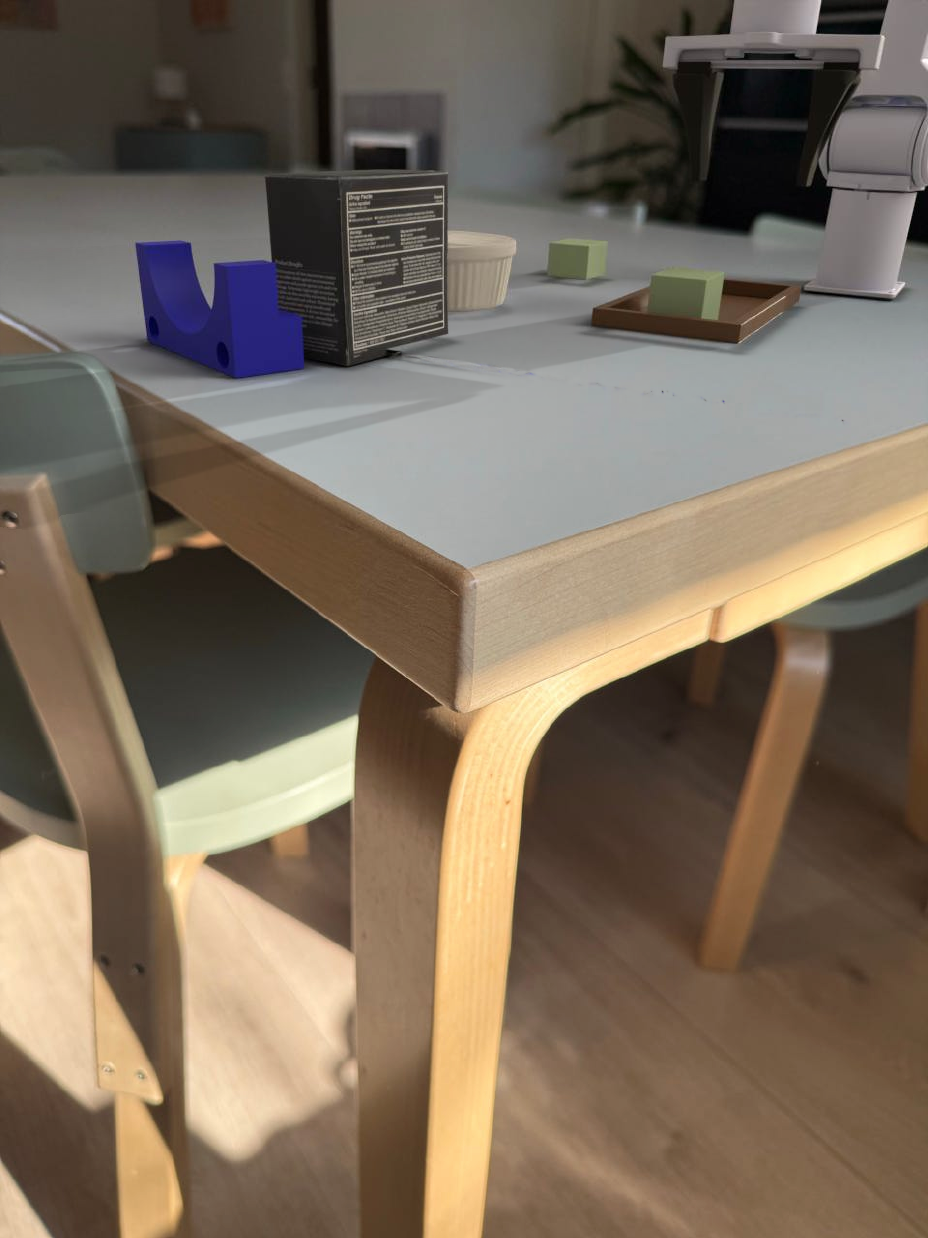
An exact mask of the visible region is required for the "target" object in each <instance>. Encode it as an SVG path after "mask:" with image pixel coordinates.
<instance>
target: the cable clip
mask: <svg viewBox="0 0 928 1238" xmlns="http://www.w3.org/2000/svg"><path fill="white" fill-rule="evenodd" d="M134 245H135V253H136V261H137V267H138V275H139V284H140V285H139V286H140V293H141V301H142V310H143V317H144V325H145V333H146V341H147V342H149V343H151V344H152V345H153V344H154V345H156V346H157V347H161V348H163V349H165V350H168V351H169V352H173V353H175V354H177V355H179V356H182V357H183V358H186V359H189V360H191V361H193V362H196V363H198V364H201V365H203V366H206V367H208V368H211V369H213V370H216V371H217V372H220V373H222V374H224V375H227V376H229V377H233V378H235V379H241V378H247V377H254V376H260V375H261V376H262V375H267V374H274V373H275V374H276V373H280V372H289V371H295V370H303V369H305V357H304V353H303V332H302V316H299V315H296V314H293V313H289V312H286V311H283V310H279V309H278V293H277V276H276V263H273V262H272V261H269V260H265V259H258V260H257V259H255V260H241V261H225V262H214V263H213V272H214V273H213V274H214V278H213V279H214V280H213V281H214V283H213V285H214V286H213V298H212V304H211V306H210V305H209V303H208V301H207V299H206V296H205V294H204V292H203V289H202V287H201V284H200V281H199V278H198V273H197V270H196V265H195V261H194V255H193V248H192V243H191V242H189V241H185V240H161V241H160V240H159V241H144V242H143V241H139V242H135V243H134Z"/></svg>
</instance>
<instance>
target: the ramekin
mask: <svg viewBox="0 0 928 1238" xmlns="http://www.w3.org/2000/svg"><path fill="white" fill-rule="evenodd" d="M516 253H517V241H516V239H515V238H514V237H510V236H507V235H501V234H493V233H484V232H475V231H467V230H448V254H447V263H448V266H447V269H448V273H447V274H448V277H447V284H448V286H447V287H448V289H447V301H448V307H447V309H448V312H469V311H470V312H472V311H482V310H488V309H489V310H490V309H494V308H497V307H499V306H501V305H503V303H504V300H505V298H506V294H507V289H508V284H509V283H508V282H509V279H510V274H511V269H512V262H513V257H514V255H515V254H516Z"/></svg>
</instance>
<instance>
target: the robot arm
mask: <svg viewBox="0 0 928 1238" xmlns="http://www.w3.org/2000/svg"><path fill="white" fill-rule="evenodd" d="M821 5H822V0H734V1H733V8H732V16H731V23H730V30H729V34H709V35H705V34H704V35H684V36H683V35H680V36H678V35H677V36H665V43H664V52H663V60H662V68H664V69H670V70H676V71H675V72H674V73H672V76H671V79H672V86H673V88H674V89H673V90H674V92H675V94H676V97H677V100H678V104H679V107H680V111H681V114H682V118H683V119H682V120H683V123H684V129H685V132H686V138H687V146H688V154H689V173H690V174H689V175H690V176H689V177H690V178H689V180H690V181H691V182H703V181H707V178H708V173H709V169H710V159H711V148H712V147H711V146H712V137H713V136H712V135H713V127H714V123H715V117H716V112H717V106H718V103H719V98H720V94H721V89H722V84H723V81H724V74H725V73H724V72H719V71H715V70H716V69H740V70H741V69H742V70H743V69H744V70H745V69H750V70H752V69H754V70H755V69H757V70H760V69H762V70H765V69H767V70H814V71H813V76H812V84H811V85H812V86H811V97H810V104H809V106H810V107H809V112H808V120H807V127H806V133H805V138H804V143H803V147H802V151H801V156H800V160H799V165H798V169H797V173H796V174H797V175H796V182H795V187H802V188H803V187H805V188H808V187H810V186H812V183H813V179H814V175H815V172H816V169H817V167H818V165H819V169H820V171H821V173H822V176H823V178H824V179H825V180H826V187H833V188H832V191H831V198H830V202H829V207H828V213H827V218H826V223H825V228H824V234H823V239H822V245H821V249H820V255H819V260H818V264H817V270H816V276H815V278H814V279H813V280H810V281H809V282H808V283H806V284H804V286H803V290H804V291H808V292H815V293H827V294H829V293H830V294H837V295H838V294H839V295H847V296H849V295H850V296H858V297H859V296H860V297H869V298H877V299H878V298H879V299H888V300H889V299H892V300H893V299H895V298H896V297H897V296H898V295H899V293H900V292H901V291H902V290H903V289H904V287H905V285H906V282H904V281H898V278H899V273H900V269H901V264H902V259H903V256H904V251H905V246H906V242H907V239H908V238H907V237H908V233H909V229H910V226H911V225H910V224H911V220H912V216H913V212H914V207H915V203H916V198H917V195H918V192H917V191H925V189H926V187H928V0H888V2H887V6H886V9H885V14H884V17H883V22H882V25H881V29H880V32H879V34H836V33H835V34H834V33H833V34H832V33H831V34H830V33H827V34H826V33H817V27H818V22H819V16H820V10H821ZM745 54H794V56H795V57H796V58H798V59H790V60H789V59H743V58H744V57H745ZM728 58H729V59H728Z"/></svg>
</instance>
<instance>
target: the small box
mask: <svg viewBox="0 0 928 1238" xmlns="http://www.w3.org/2000/svg"><path fill="white" fill-rule="evenodd" d="M448 182H449V172H448V171H444V170H420V169H419V170H415V169H355V170H352V169H350V170H326V171H325V170H324V171H307V172H306V171H305V172H303V171H302V172H289V173H287V172H286V173H285V172H284V173H270V174H265V175H264V183H265V194H266V206H267V218H268V219H267V220H268V231H269V233H268V234H269V244H270V260H271V262H273V263H276V276H277V293H278V309H279V310H283V311H286V312H289V313H293V314H296V315H299V316H302V332H303V353H304V359H311V360H315V361H321V362H326V363H332V364H334V365H335V364H336V365H340V366H345V367H351V366H355V365H358V364H362V363H365V362H368V361H374V360H376V359H380V358H384V357H387V356H391V355H395V354H399V353H402V352H403V350H402V351H401V350H394V348H397V347H400V346H404V345H405V346H406V345H409V344H413V343H417V342H421V341H425V340H429V339H434V338H438V337H441V336H445V335H449V311H448V309H447V307H448V301H447V289H448V287H447V286H448V284H447V277H448V274H447V273H448V269H447V266H448V263H447V254H448V231H449V224H448V223H449V206H448V205H449V186H448V185H449V183H448Z"/></svg>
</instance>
